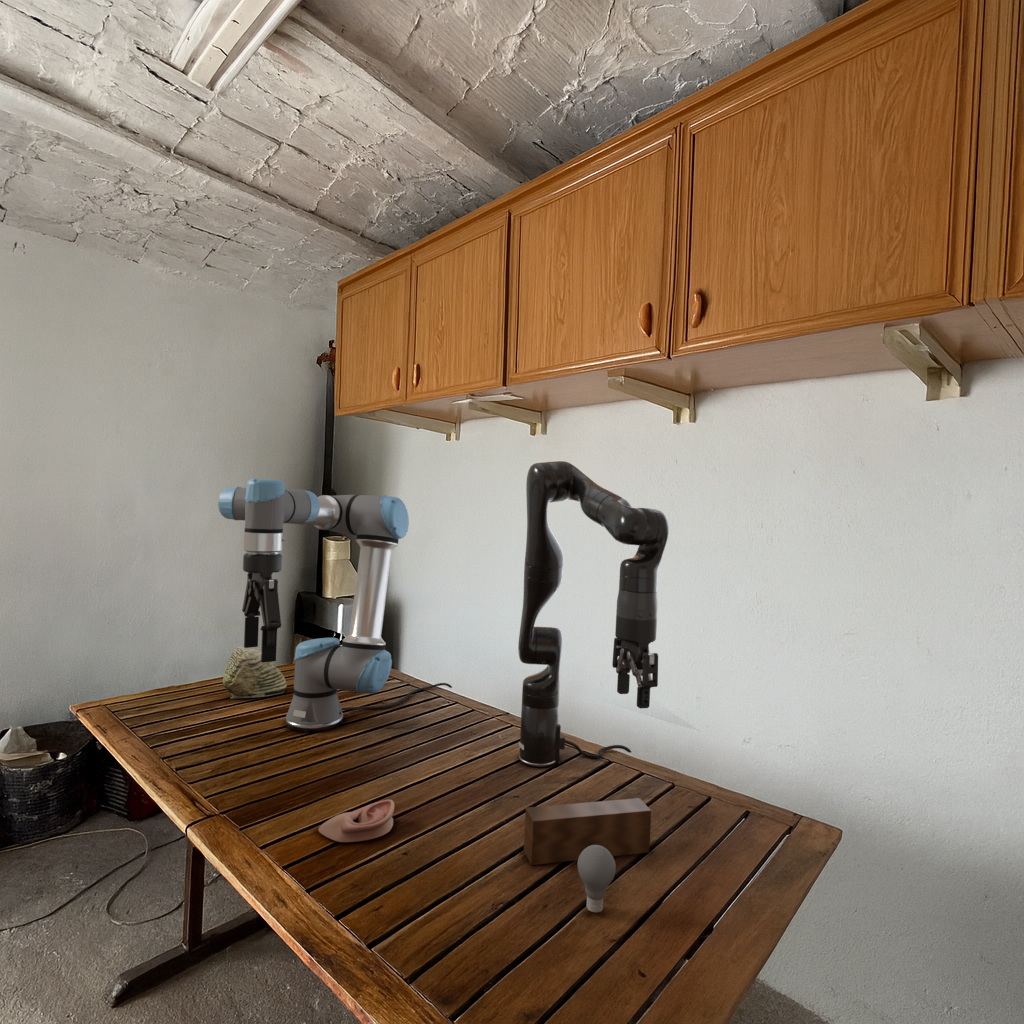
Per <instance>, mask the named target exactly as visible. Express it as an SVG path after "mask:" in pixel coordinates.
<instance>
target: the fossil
mask: <svg viewBox="0 0 1024 1024" xmlns="http://www.w3.org/2000/svg"><path fill="white" fill-rule="evenodd" d="M261 648H262V647H261ZM261 648H260V647H256V648H251V647H250V648H244V646H238V647H237V648H236V649H235V650H233V651H232V653H231V656H230V657H229V659H228V660H227V663H226V666H225V668H224V671H223V675H222V676H223V677H222V685H223V687H224V688H225V690H226V691H228V693H229V698H230V699H250V698H264V697H271V696H275V695H281V694H284V693H285V691H286V689H287V687H288V686H287V680H286V678H285V676H284V674H283V673H282V672H281V669H279V668H278V667H277V665H276V663H275V661H272V662H263V663H262V662H261Z"/></svg>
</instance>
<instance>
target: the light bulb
mask: <svg viewBox="0 0 1024 1024" xmlns="http://www.w3.org/2000/svg"><path fill="white" fill-rule="evenodd" d="M616 864H617V863H616V861H615V859H614V856H612V854H611V853H610V852H609V851H608V850H607V849H606V848H605V847H603V846H600V845H591V846H588V847H587V848H585V849H584V850H583V851H582V852H581V854H580V856H579V858H578V860H577V871H578V875H579V877H580V879H581V881H582V883H583V885H584V892H585V895H586V905H585V906H586V909H587V910H588V911H589V912H592V913H600V912H602V911H603V910H604V897H605V896H606V893H607V889H608V887H609V886H610V884H611V883H612V881H613V880H614V878H615V875H616V870H617V869H616V868H617V865H616Z"/></svg>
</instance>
